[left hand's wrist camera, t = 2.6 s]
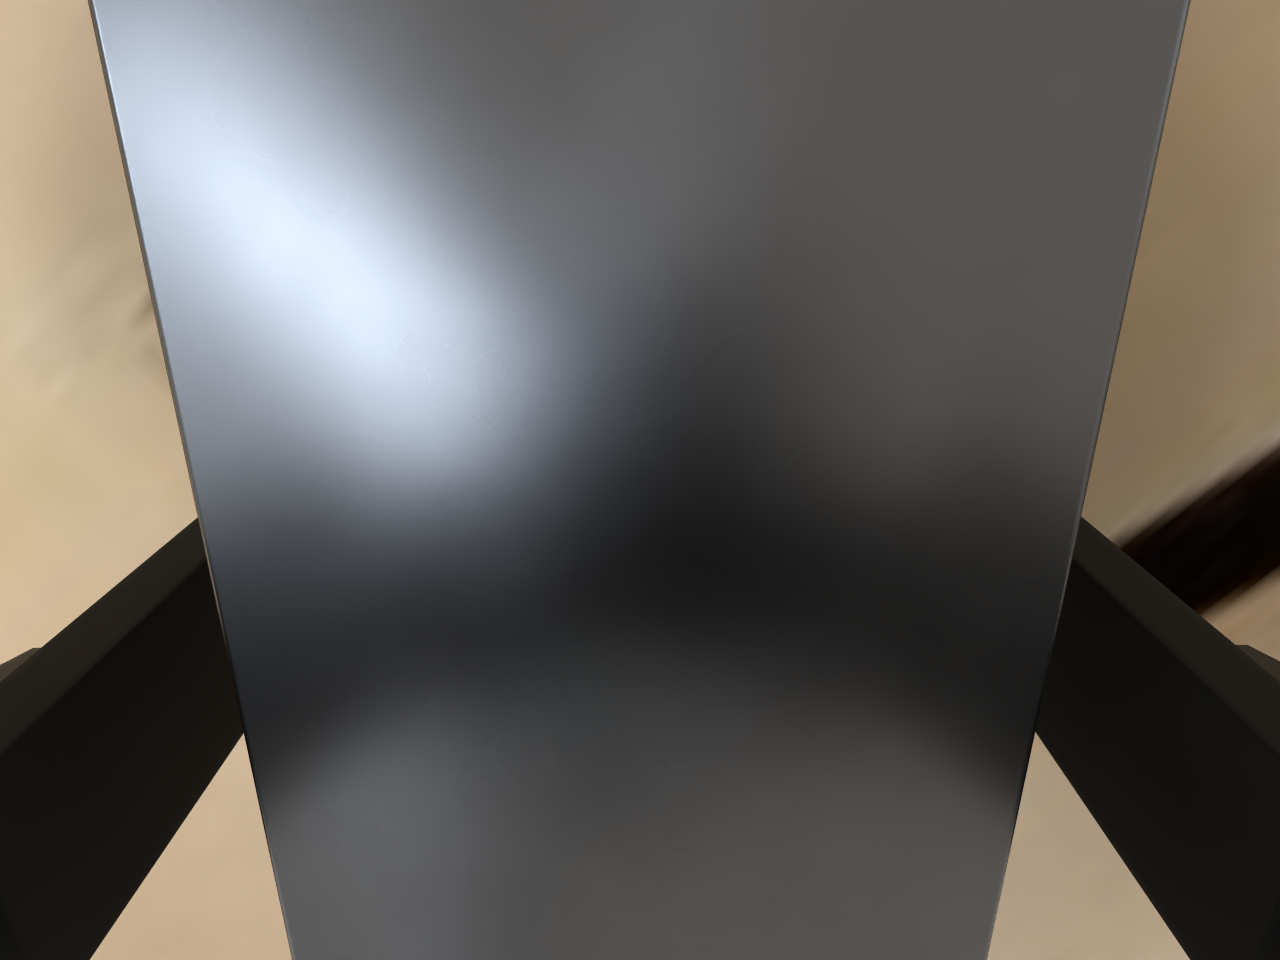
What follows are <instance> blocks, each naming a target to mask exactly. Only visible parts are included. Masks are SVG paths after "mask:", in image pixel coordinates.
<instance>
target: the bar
mask: <svg viewBox="0 0 1280 960" xmlns="http://www.w3.org/2000/svg"><path fill="white" fill-rule="evenodd" d="M88 3H89V8H90V13H91V17H92V22H93V27H94V31H95V36H96V41H97V46H98V50H99V55H100V60H101V64H102V69H103V74H104V78H105V83H106V88H107V92H108V97H109V102H110V107H111V111H112V116H113V121H114V125H115V130H116V135H117V139H118V144H119V149H120V154H121V158H122V163H123V168H124V172H125V177H126V182H127V186H128V191H129V196H130V200H131V205H132V210H133V215H134V219H135V224H136V229H137V233H138V238H139V243H140V247H141V252H142V257H143V262H144V266H145V271H146V276H147V280H148V285H149V290H150V294H151V299H152V304H153V308H154V313H155V318H156V323H157V327H158V332H159V337H160V341H161V346H162V351H163V355H164V360H165V365H166V370H167V374H168V379H169V384H170V388H171V393H172V398H173V402H174V407H175V412H176V416H177V421H178V426H179V431H180V435H181V440H182V445H183V449H184V454H185V459H186V463H187V468H188V473H189V478H190V482H191V487H192V492H193V496H194V501H195V506H196V510H197V515H198V520H199V524H200V529H201V534H202V539H203V543H204V548H205V553H206V557H207V562H208V567H209V571H210V576H211V581H212V586H213V590H214V595H215V600H216V604H217V609H218V614H219V618H220V623H221V628H222V632H223V637H224V642H225V647H226V651H227V656H228V661H229V665H230V670H231V675H232V679H233V684H234V689H235V693H236V698H237V703H238V708H239V712H240V717H241V722H242V726H243V731H244V736H245V740H246V745H247V750H248V755H249V759H250V764H251V769H252V773H253V778H254V783H255V787H256V792H257V797H258V801H259V806H260V811H261V816H262V820H263V825H264V830H265V834H266V839H267V844H268V848H269V853H270V858H271V863H272V867H273V872H274V877H275V881H276V886H277V891H278V895H279V900H280V905H281V909H282V914H283V919H284V924H285V928H286V933H287V938H288V942H289V947H290V952H291V956H292V960H987V956H988V952H989V947H990V942H991V937H992V933H993V928H994V923H995V919H996V914H997V909H998V904H999V900H1000V895H1001V890H1002V886H1003V881H1004V876H1005V872H1006V867H1007V862H1008V857H1009V853H1010V848H1011V843H1012V839H1013V834H1014V829H1015V824H1016V820H1017V815H1018V810H1019V806H1020V801H1021V796H1022V791H1023V787H1024V782H1025V777H1026V773H1027V768H1028V763H1029V758H1030V754H1031V749H1032V744H1033V740H1034V735H1035V730H1036V725H1037V721H1038V716H1039V711H1040V707H1041V702H1042V697H1043V692H1044V688H1045V683H1046V678H1047V674H1048V669H1049V664H1050V660H1051V655H1052V650H1053V645H1054V641H1055V636H1056V631H1057V627H1058V622H1059V617H1060V612H1061V608H1062V603H1063V598H1064V594H1065V589H1066V584H1067V579H1068V575H1069V570H1070V565H1071V561H1072V556H1073V551H1074V546H1075V542H1076V537H1077V532H1078V528H1079V523H1080V518H1081V513H1082V509H1083V504H1084V499H1085V495H1086V490H1087V485H1088V480H1089V476H1090V471H1091V466H1092V462H1093V457H1094V452H1095V447H1096V443H1097V438H1098V433H1099V429H1100V424H1101V419H1102V415H1103V410H1104V405H1105V400H1106V396H1107V391H1108V386H1109V382H1110V377H1111V372H1112V367H1113V363H1114V358H1115V353H1116V349H1117V344H1118V339H1119V334H1120V330H1121V325H1122V320H1123V316H1124V311H1125V306H1126V301H1127V297H1128V292H1129V287H1130V283H1131V278H1132V273H1133V268H1134V264H1135V259H1136V254H1137V250H1138V245H1139V240H1140V235H1141V231H1142V226H1143V221H1144V217H1145V212H1146V207H1147V203H1148V198H1149V193H1150V188H1151V184H1152V179H1153V174H1154V170H1155V165H1156V160H1157V155H1158V151H1159V146H1160V141H1161V137H1162V132H1163V127H1164V122H1165V118H1166V113H1167V108H1168V104H1169V99H1170V94H1171V89H1172V85H1173V80H1174V75H1175V71H1176V66H1177V61H1178V56H1179V52H1180V47H1181V42H1182V38H1183V33H1184V28H1185V23H1186V19H1187V14H1188V9H1189V5H1190V0H88Z"/></svg>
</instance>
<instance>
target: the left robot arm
mask: <svg viewBox="0 0 1280 960" xmlns="http://www.w3.org/2000/svg"><path fill="white" fill-rule="evenodd" d="M1035 732H1036V733H1037V735H1038V736H1039V738H1040V739H1041V740H1042V742H1043V743H1044V745H1045V746H1046V748H1047V749H1048V751H1049V752H1050V754H1051V755H1052V757H1053V758H1054V760H1055V761H1056V763H1057V764H1058V766H1059V767H1060V768H1061V770H1062V771H1063V773H1064V774H1065V776H1066V777H1067V779H1068V780H1069V782H1070V783H1071V785H1072V786H1073V788H1074V789H1075V791H1076V792H1077V794H1078V795H1079V796H1080V798H1081V799H1082V801H1083V802H1084V804H1085V805H1086V807H1087V808H1088V810H1089V811H1090V813H1091V814H1092V816H1093V817H1094V819H1095V820H1096V822H1097V823H1098V824H1099V826H1100V827H1101V829H1102V830H1103V832H1104V833H1105V835H1106V836H1107V838H1108V839H1109V841H1110V842H1111V844H1112V845H1113V847H1114V848H1115V849H1116V851H1117V852H1118V854H1119V855H1120V857H1121V858H1122V860H1123V861H1124V863H1125V864H1126V866H1127V867H1128V869H1129V870H1130V872H1131V873H1132V875H1133V876H1134V877H1135V879H1136V880H1137V882H1138V883H1139V885H1140V886H1141V888H1142V889H1143V891H1144V892H1145V894H1146V895H1147V897H1148V898H1149V900H1150V901H1151V903H1152V904H1153V905H1154V907H1155V908H1156V910H1157V911H1158V913H1159V914H1160V916H1161V917H1162V919H1163V920H1164V922H1165V923H1166V925H1167V926H1168V928H1169V929H1170V930H1171V932H1172V933H1173V935H1174V936H1175V938H1176V939H1177V941H1178V942H1179V944H1180V945H1181V947H1182V948H1183V950H1184V951H1185V953H1186V954H1187V956H1188V957H1189V958H1190V960H1280V661H1278V660H1276V659H1274V658H1272V657H1270V656H1268V655H1266V654H1264V653H1262V652H1260V651H1258V650H1256V649H1254V648H1252V647H1250V646H1248V645H1235V644H1234V643H1232V642H1231V641H1230V640H1229V639H1228V638H1226V637H1225V636H1224V635H1223V634H1222V633H1220V632H1219V631H1218V630H1217V629H1216V628H1214V627H1213V626H1212V625H1211V624H1210V623H1208V622H1207V621H1206V620H1205V619H1204V618H1202V617H1201V616H1200V615H1199V614H1198V613H1196V612H1195V611H1194V610H1193V609H1192V608H1190V607H1189V606H1188V605H1187V604H1186V603H1184V602H1183V601H1182V600H1181V599H1180V598H1178V597H1177V596H1176V595H1175V594H1174V593H1172V592H1171V591H1170V590H1169V589H1168V588H1166V587H1165V586H1164V585H1163V584H1162V583H1160V582H1159V581H1158V580H1157V579H1156V578H1154V577H1153V576H1152V575H1151V574H1150V573H1148V572H1147V571H1146V570H1145V569H1144V568H1142V567H1141V566H1140V565H1139V564H1138V563H1136V562H1135V561H1134V560H1133V559H1132V558H1130V557H1129V556H1128V555H1127V554H1126V553H1124V552H1123V551H1122V550H1121V549H1120V548H1118V547H1117V546H1116V545H1115V544H1114V543H1112V542H1111V541H1110V540H1109V539H1108V538H1106V537H1105V536H1104V535H1103V534H1101V533H1100V532H1099V531H1098V530H1097V529H1095V528H1094V527H1093V526H1092V525H1091V524H1089V523H1088V522H1087V521H1086V520H1085V519H1083V518H1082V517H1081V518H1080V523H1079V528H1078V532H1077V537H1076V542H1075V546H1074V551H1073V556H1072V561H1071V565H1070V570H1069V575H1068V579H1067V584H1066V589H1065V594H1064V598H1063V603H1062V608H1061V612H1060V617H1059V622H1058V627H1057V631H1056V636H1055V641H1054V645H1053V650H1052V655H1051V660H1050V664H1049V669H1048V674H1047V678H1046V683H1045V688H1044V692H1043V697H1042V702H1041V707H1040V711H1039V716H1038V721H1037V725H1036V730H1035ZM243 733H244V731H243V726H242V722H241V717H240V712H239V708H238V703H237V698H236V693H235V689H234V684H233V679H232V675H231V670H230V665H229V661H228V656H227V651H226V647H225V642H224V637H223V632H222V628H221V623H220V618H219V614H218V609H217V604H216V600H215V595H214V590H213V586H212V581H211V576H210V571H209V567H208V562H207V557H206V553H205V548H204V543H203V539H202V534H201V529H200V524H199V520H198V518H196V519H195V520H194V521H193V522H192V523H190V524H189V525H188V526H187V527H186V528H184V529H183V530H182V531H181V532H180V533H178V534H177V535H176V536H175V537H174V538H172V539H171V540H170V541H169V542H168V543H166V544H165V545H164V546H163V547H162V548H160V549H159V550H158V551H157V552H156V553H154V554H153V555H152V556H151V557H150V558H148V559H147V560H146V561H145V562H144V563H142V564H141V565H140V566H139V567H138V568H136V569H135V570H134V571H133V572H132V573H130V574H129V575H128V576H127V577H126V578H124V579H123V580H122V581H121V582H120V583H118V584H117V585H116V586H115V587H114V588H112V589H111V590H110V591H109V592H108V593H106V594H105V595H104V596H103V597H102V598H100V599H99V600H98V601H97V602H96V603H94V604H93V605H92V606H91V607H90V608H88V609H87V610H86V611H85V612H84V613H82V614H81V615H80V616H79V617H78V618H76V619H75V620H74V621H73V622H72V623H70V624H69V625H68V626H67V627H66V628H64V629H63V630H62V631H61V632H60V633H58V634H57V635H56V636H55V637H54V638H52V639H51V640H50V641H49V642H48V643H46V644H45V645H44V646H43V647H42V648H32V649H30V650H28V651H26V652H25V653H23V654H21V655H19V656H17V657H15V658H13V659H11V660H9V661H7V662H5V663H3V664H1V665H0V960H90V958H91V957H92V956H93V954H94V953H95V951H96V950H97V948H98V947H99V945H100V944H101V942H102V941H103V939H104V938H105V936H106V935H107V933H108V932H109V930H110V929H111V928H112V926H113V925H114V923H115V922H116V920H117V919H118V917H119V916H120V914H121V913H122V911H123V910H124V908H125V907H126V905H127V904H128V902H129V901H130V900H131V898H132V897H133V895H134V894H135V892H136V891H137V889H138V888H139V886H140V885H141V883H142V882H143V880H144V879H145V877H146V876H147V875H148V873H149V872H150V870H151V869H152V867H153V866H154V864H155V863H156V861H157V860H158V858H159V857H160V855H161V854H162V852H163V851H164V849H165V848H166V847H167V845H168V844H169V842H170V841H171V839H172V838H173V836H174V835H175V833H176V832H177V830H178V829H179V827H180V826H181V824H182V823H183V821H184V820H185V819H186V817H187V816H188V814H189V813H190V811H191V810H192V808H193V807H194V805H195V804H196V802H197V801H198V799H199V798H200V796H201V795H202V793H203V792H204V791H205V789H206V788H207V786H208V785H209V783H210V782H211V780H212V779H213V777H214V776H215V774H216V773H217V771H218V770H219V768H220V767H221V766H222V764H223V763H224V761H225V760H226V758H227V757H228V755H229V754H230V752H231V751H232V749H233V748H234V746H235V745H236V743H237V742H238V740H239V739H240V738H241V736H242V735H243Z"/></svg>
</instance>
